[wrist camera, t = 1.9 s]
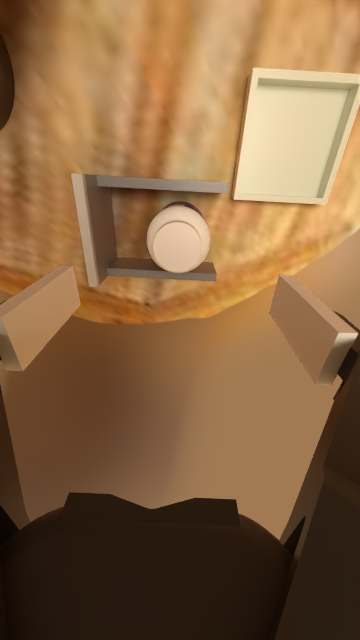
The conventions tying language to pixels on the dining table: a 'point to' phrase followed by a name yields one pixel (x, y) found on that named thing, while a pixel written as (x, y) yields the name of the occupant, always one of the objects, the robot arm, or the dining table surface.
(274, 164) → the tray
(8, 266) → the dining table surface
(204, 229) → the pill bottle
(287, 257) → the dining table surface
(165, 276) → the bay
